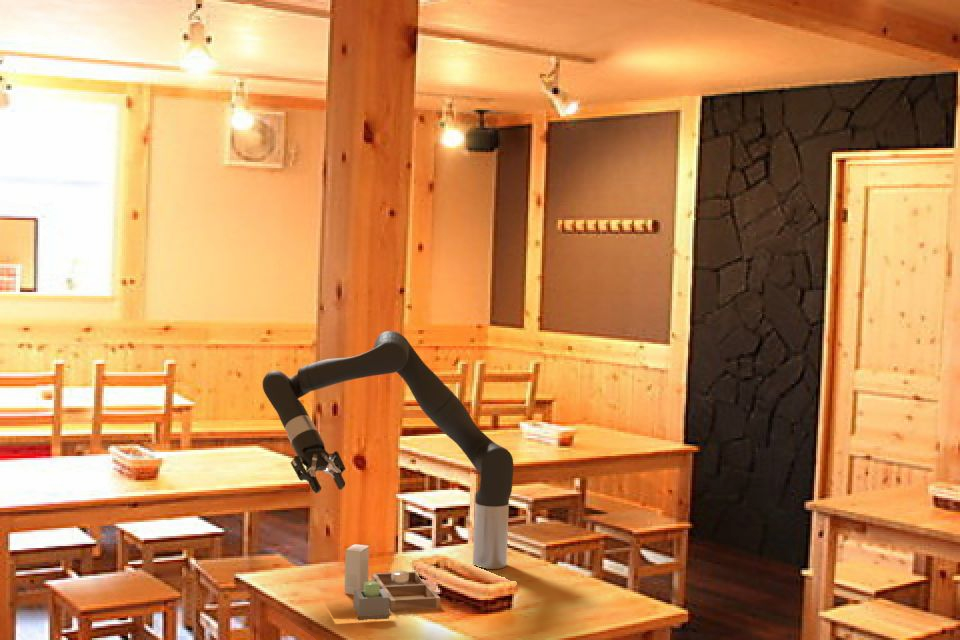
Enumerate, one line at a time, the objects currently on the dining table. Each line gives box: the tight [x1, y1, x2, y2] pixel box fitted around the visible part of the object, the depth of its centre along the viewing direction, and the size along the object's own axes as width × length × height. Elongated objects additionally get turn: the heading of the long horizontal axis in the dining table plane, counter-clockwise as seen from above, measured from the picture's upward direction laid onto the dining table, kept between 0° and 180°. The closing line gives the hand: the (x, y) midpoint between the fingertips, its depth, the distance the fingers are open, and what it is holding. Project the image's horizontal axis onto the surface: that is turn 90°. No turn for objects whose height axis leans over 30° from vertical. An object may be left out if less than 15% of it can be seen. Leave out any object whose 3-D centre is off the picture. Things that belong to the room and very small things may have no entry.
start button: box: [364, 580, 380, 597], centre depth 283 cm, size 4×4×4 cm
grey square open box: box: [353, 589, 390, 621], centre depth 284 cm, size 7×7×5 cm
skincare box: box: [344, 543, 370, 596], centre depth 299 cm, size 6×4×12 cm
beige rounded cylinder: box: [390, 570, 409, 585], centre depth 302 cm, size 4×4×4 cm
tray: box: [371, 571, 441, 612], centre depth 297 cm, size 23×12×4 cm, turn 17°
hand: (330, 489), depth 305 cm, fingers open, 7 cm apart
